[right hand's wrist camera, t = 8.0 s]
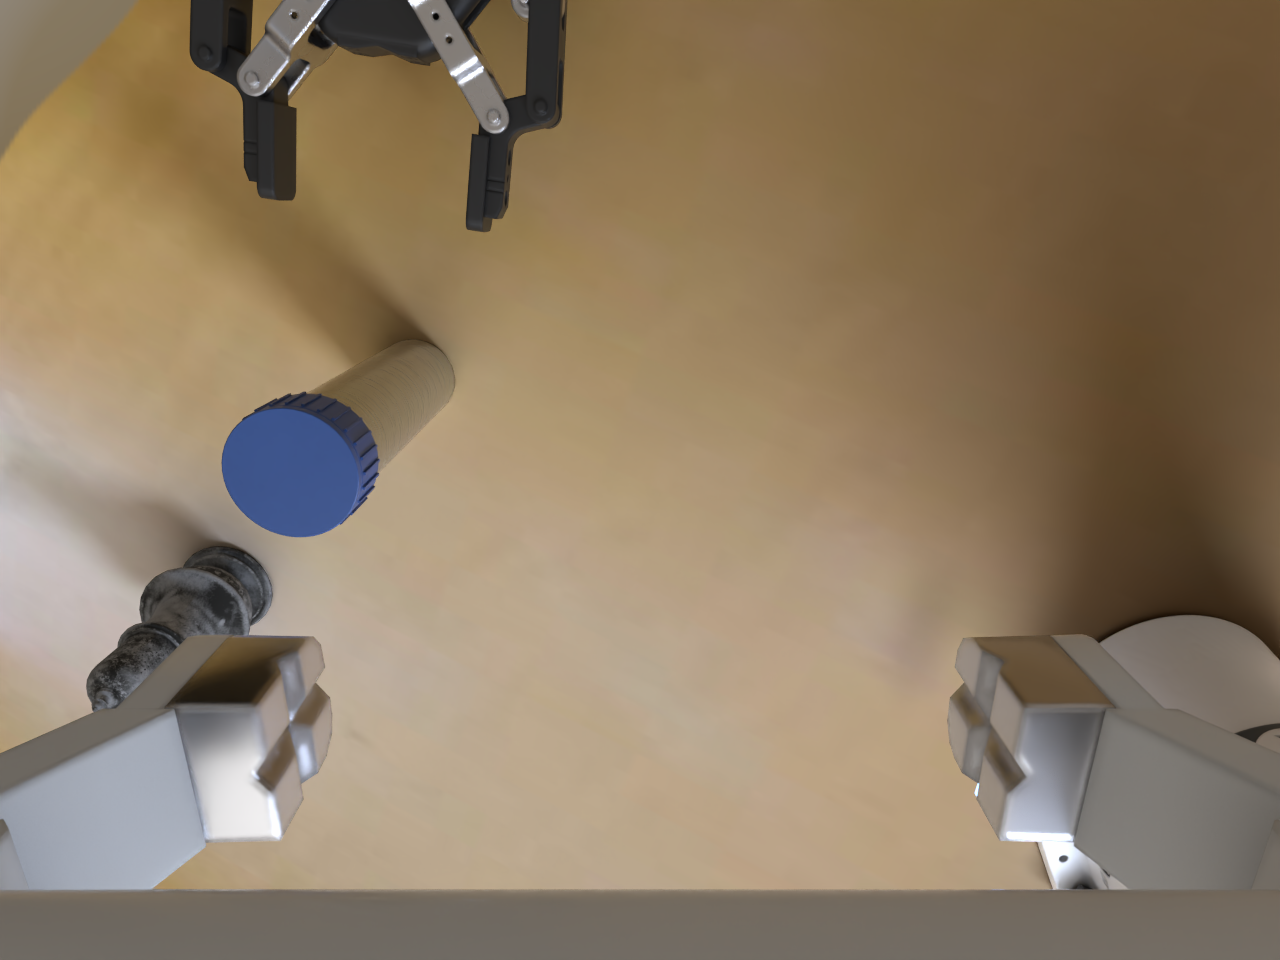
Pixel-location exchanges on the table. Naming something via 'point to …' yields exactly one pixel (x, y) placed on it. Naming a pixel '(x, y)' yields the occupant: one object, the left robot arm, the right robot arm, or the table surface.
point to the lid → (300, 464)
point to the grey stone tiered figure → (182, 618)
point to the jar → (395, 392)
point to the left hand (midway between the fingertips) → (378, 215)
